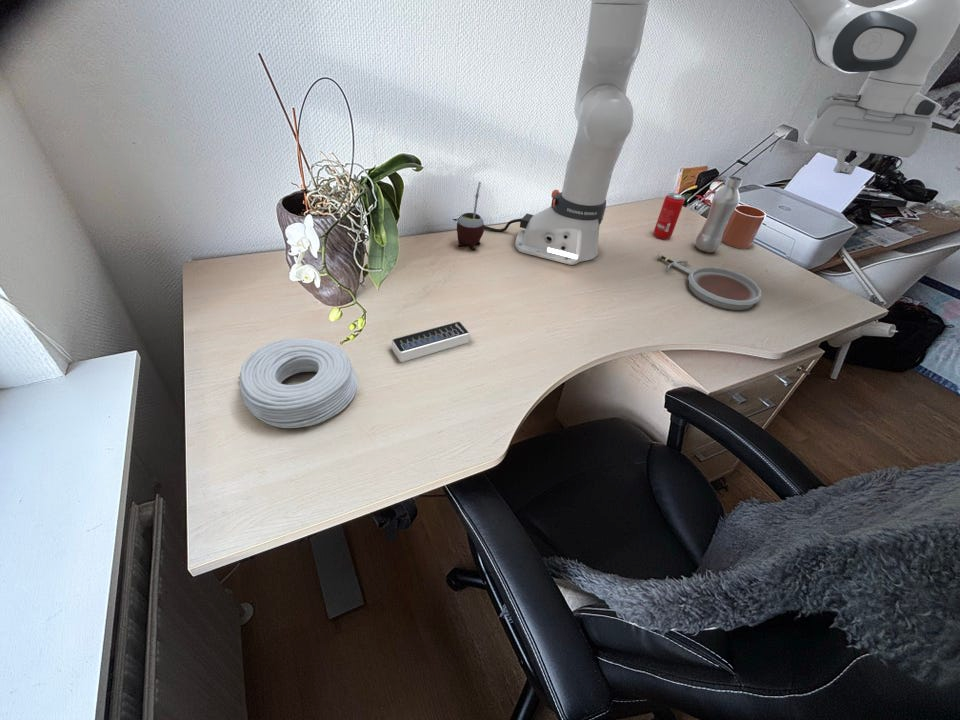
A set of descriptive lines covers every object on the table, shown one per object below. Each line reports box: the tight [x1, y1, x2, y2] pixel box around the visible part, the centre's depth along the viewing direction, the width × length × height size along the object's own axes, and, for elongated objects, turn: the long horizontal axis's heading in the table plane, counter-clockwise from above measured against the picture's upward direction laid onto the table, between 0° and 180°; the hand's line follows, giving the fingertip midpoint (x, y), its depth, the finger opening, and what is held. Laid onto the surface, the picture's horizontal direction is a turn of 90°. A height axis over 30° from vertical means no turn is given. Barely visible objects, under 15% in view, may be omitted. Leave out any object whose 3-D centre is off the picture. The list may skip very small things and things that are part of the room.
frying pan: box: [657, 253, 763, 311], centre depth 115 cm, size 17×3×28 cm
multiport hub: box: [391, 321, 470, 363], centre depth 87 cm, size 4×14×2 cm, turn 120°
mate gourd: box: [456, 181, 485, 252], centre depth 116 cm, size 8×8×15 cm
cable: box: [238, 337, 358, 429], centre depth 74 cm, size 18×18×6 cm
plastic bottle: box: [695, 175, 743, 253], centre depth 124 cm, size 6×7×20 cm
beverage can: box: [653, 192, 686, 240], centre depth 131 cm, size 5×5×12 cm
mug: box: [721, 204, 767, 250], centre depth 133 cm, size 12×9×10 cm
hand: (841, 172), depth 95 cm, fingers closed
